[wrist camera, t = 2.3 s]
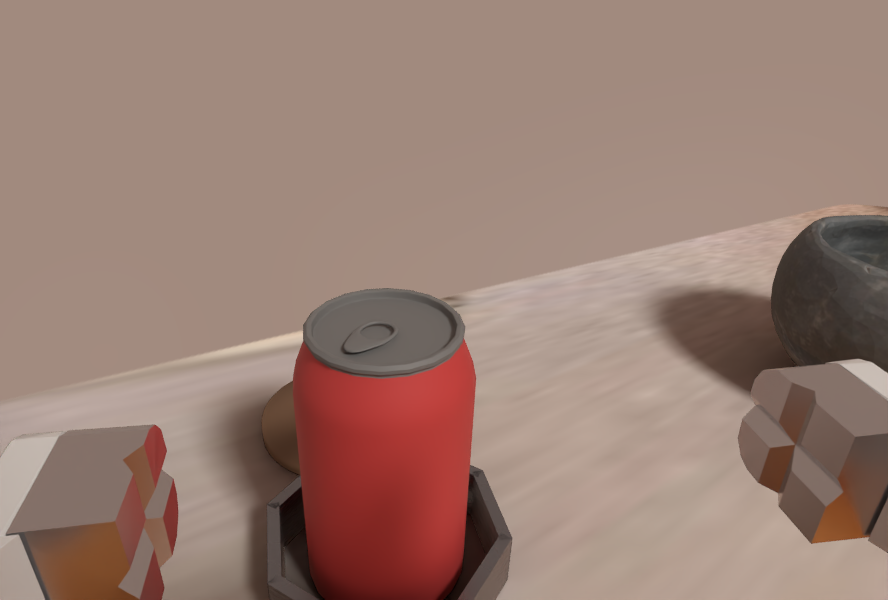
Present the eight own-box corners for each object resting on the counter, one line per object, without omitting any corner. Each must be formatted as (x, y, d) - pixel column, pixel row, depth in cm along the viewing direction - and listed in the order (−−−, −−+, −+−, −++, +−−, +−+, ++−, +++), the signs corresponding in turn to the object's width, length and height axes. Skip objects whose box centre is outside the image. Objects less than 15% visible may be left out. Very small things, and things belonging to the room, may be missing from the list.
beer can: (276, 578, 26) (244, 332, 21) (376, 485, 31) (371, 266, 26) (402, 666, 23) (404, 405, 18) (490, 547, 28) (514, 314, 22)
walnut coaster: (227, 438, 34) (225, 427, 33) (334, 362, 41) (333, 351, 40) (360, 507, 30) (360, 494, 30) (454, 408, 37) (454, 397, 36)
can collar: (222, 593, 26) (214, 550, 24) (365, 456, 33) (364, 418, 32) (421, 725, 21) (422, 681, 20) (533, 535, 29) (539, 494, 28)
